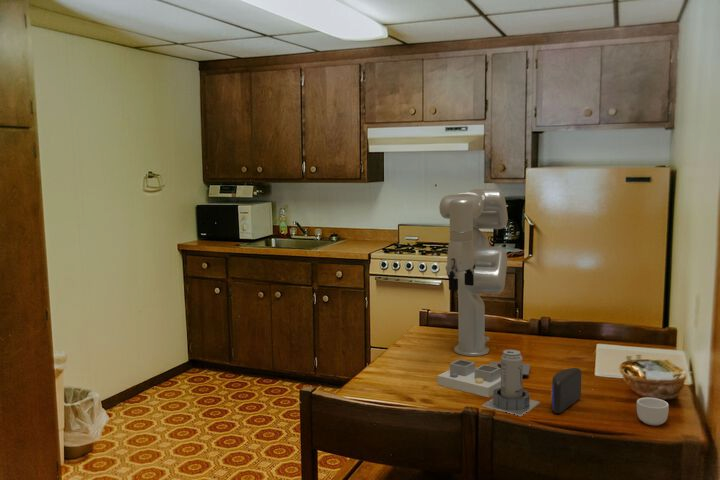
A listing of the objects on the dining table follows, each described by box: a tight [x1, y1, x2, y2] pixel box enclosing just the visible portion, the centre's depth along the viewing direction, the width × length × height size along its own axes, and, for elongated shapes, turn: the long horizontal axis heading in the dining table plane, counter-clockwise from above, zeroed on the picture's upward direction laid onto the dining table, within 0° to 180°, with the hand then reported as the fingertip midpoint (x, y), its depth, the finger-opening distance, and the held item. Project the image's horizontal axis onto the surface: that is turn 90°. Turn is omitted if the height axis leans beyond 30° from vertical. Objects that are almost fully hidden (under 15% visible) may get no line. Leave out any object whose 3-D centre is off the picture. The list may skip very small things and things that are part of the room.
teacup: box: [636, 397, 670, 426], centre depth 169 cm, size 10×8×5 cm
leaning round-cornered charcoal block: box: [550, 367, 582, 414], centre depth 181 cm, size 16×5×9 cm, turn 140°
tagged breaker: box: [479, 366, 496, 372], centre depth 196 cm, size 4×4×2 cm
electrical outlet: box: [488, 360, 531, 377], centre depth 210 cm, size 13×10×2 cm
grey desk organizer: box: [437, 359, 501, 398], centre depth 198 cm, size 12×18×6 cm, turn 49°
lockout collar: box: [481, 388, 541, 417], centre depth 182 cm, size 12×12×4 cm
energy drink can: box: [500, 349, 524, 398], centre depth 182 cm, size 6×6×15 cm
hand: (461, 287), depth 210 cm, fingers open, 9 cm apart
